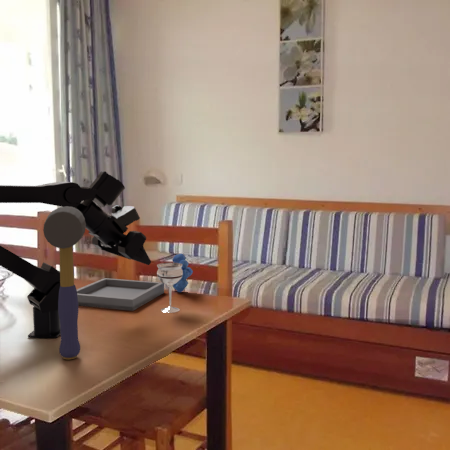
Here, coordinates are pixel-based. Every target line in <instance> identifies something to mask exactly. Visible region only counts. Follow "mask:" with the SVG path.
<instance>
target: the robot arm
mask: <svg viewBox="0 0 450 450" xmlns="http://www.w3.org/2000/svg"><path fill="white" fill-rule="evenodd" d="M125 189H126V187H125V185H124V183H123V182H121V181H120V180H119V179H117V178H116V177H114V176H113V175H111V174H109V173H108V172H107V171H104V170H103V171H100V172H99V173H98V175H97V176H96V178H95V179H94V181H93V182H92V183H91V184H90V185H89V186H80V184H78V183H77V182H73V181H63V180H62V181H55V182H49V183H43V184H39V185H10V184H9V185H8V184H7V185H4V184H3V185H2V184H1V185H0V204H14V203H15V204H17V203H18V204H46V205H50V206H57V207H65V206H69V207H74V208H76V209H78V210H79V211H80V212H81V213H82V214H83V216H84V218H85V223H86V228H85V230H87V231H88V234H89V235H90V236H93V237H92V239H91V242H92V245H93V246H95V248H96V249H98V250H101V251H104V252H107V253H109V254H112V255H115V256H118V257H121V258H124V259H128V260H132V261H135V262H138V263H141V264H144V265H147V266H150V264H151V263H152V260H151V258H150V256H149V255H148V253H147V252H146V250H145V246H144V244H145V243H146V240H147V236H146V235H144V233H143V232H142V231H137V230H130V231H129V228H128V226H129V225H131V224H132V223H134V222H137V221H138V220H140V219H141V217H140V215H139V213H138V211H137V209H136V207H135V206H132V205H126V206H125V205H124V206H123V207H122V206H121V205H114V206H112V205H113V204H114V202H115V201H116V200H117V199H118V198H119V197H120V195H121V194H122V193H123V192H124V190H125ZM106 206H107V207H111V214H110V215H109V214H108V213H106V211H104V210H103V209H102V208H105V207H106ZM127 231H129V232H127ZM126 232H127V234H125V233H126ZM0 266H1V267H2V268H3V269H5V270H8V272H11V273H12V274H15V275H16V276H18V277H20V278H22V279H23V280H24V281H25V282H27V283H28V284H29V285H30V286H32V288H33V289H32V290H31V292H30V293H28V295H27V296H26V298H27V301H28V303H29V305H31V306H33V307H32V316H33V317H32V318H33V330H32V331H31V332H30V333H29V334H27V337H28V338H31V339H32V338H37V339H38V338H39V339H41V338H43V339H47V338H49V339H56V338H58V337H59V336H61V328H60V319H59V312H58V299H59V289H60V270H58V269H56V268H55V267H54V266H53V265H51V264H48V263H46V262H42V264H41V266H37V265H34V264H32V263H31V262H30V261H28V260H26V259H24V258H22V257H21V256H19V255H17V254H16V253H14V252H13V251H10V250H9V249H7V248H5V247H3V246H2V245H0Z"/></svg>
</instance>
